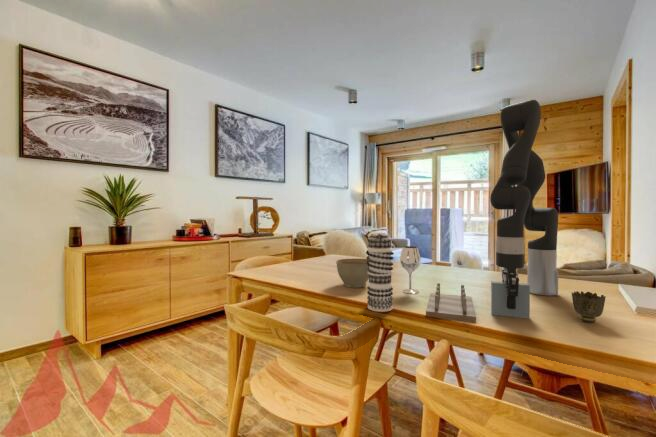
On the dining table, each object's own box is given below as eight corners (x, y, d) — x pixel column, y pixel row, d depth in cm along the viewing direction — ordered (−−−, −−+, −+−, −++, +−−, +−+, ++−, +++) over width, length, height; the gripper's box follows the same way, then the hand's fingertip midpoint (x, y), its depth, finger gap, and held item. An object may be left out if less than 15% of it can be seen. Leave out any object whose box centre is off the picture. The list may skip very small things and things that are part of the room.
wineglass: (421, 294, 116) (421, 248, 116) (400, 293, 118) (400, 248, 117) (419, 289, 124) (419, 246, 124) (399, 288, 126) (399, 245, 125)
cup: (564, 317, 91) (565, 291, 90) (587, 316, 91) (587, 290, 91) (588, 326, 83) (588, 298, 83) (612, 325, 84) (612, 297, 84)
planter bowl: (379, 283, 134) (378, 259, 134) (363, 292, 121) (363, 265, 120) (347, 279, 143) (347, 257, 143) (329, 287, 129) (329, 262, 129)
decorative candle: (377, 314, 95) (377, 235, 94) (361, 305, 103) (360, 233, 103) (399, 309, 99) (399, 234, 99) (382, 301, 107) (382, 232, 107)
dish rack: (430, 296, 113) (430, 281, 113) (471, 300, 108) (471, 284, 108) (425, 316, 93) (425, 296, 93) (476, 321, 87) (476, 301, 87)
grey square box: (490, 312, 96) (490, 281, 96) (527, 316, 92) (527, 283, 92) (491, 314, 94) (491, 282, 93) (529, 318, 90) (529, 285, 90)
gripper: (529, 255, 84) (529, 315, 85) (519, 249, 98) (518, 301, 98) (499, 254, 87) (499, 312, 88) (493, 248, 100) (492, 298, 101)
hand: (509, 305), depth 93 cm, fingers open, 4 cm apart
